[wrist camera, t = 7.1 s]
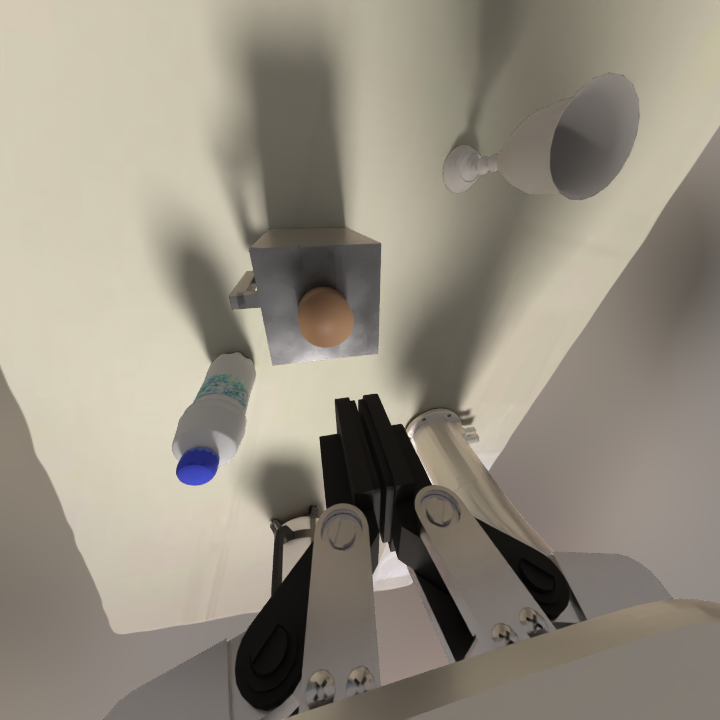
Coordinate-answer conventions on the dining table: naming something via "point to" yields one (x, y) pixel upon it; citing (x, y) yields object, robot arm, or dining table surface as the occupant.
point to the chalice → (561, 144)
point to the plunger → (325, 317)
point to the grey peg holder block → (308, 271)
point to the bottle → (214, 420)
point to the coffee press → (291, 544)
